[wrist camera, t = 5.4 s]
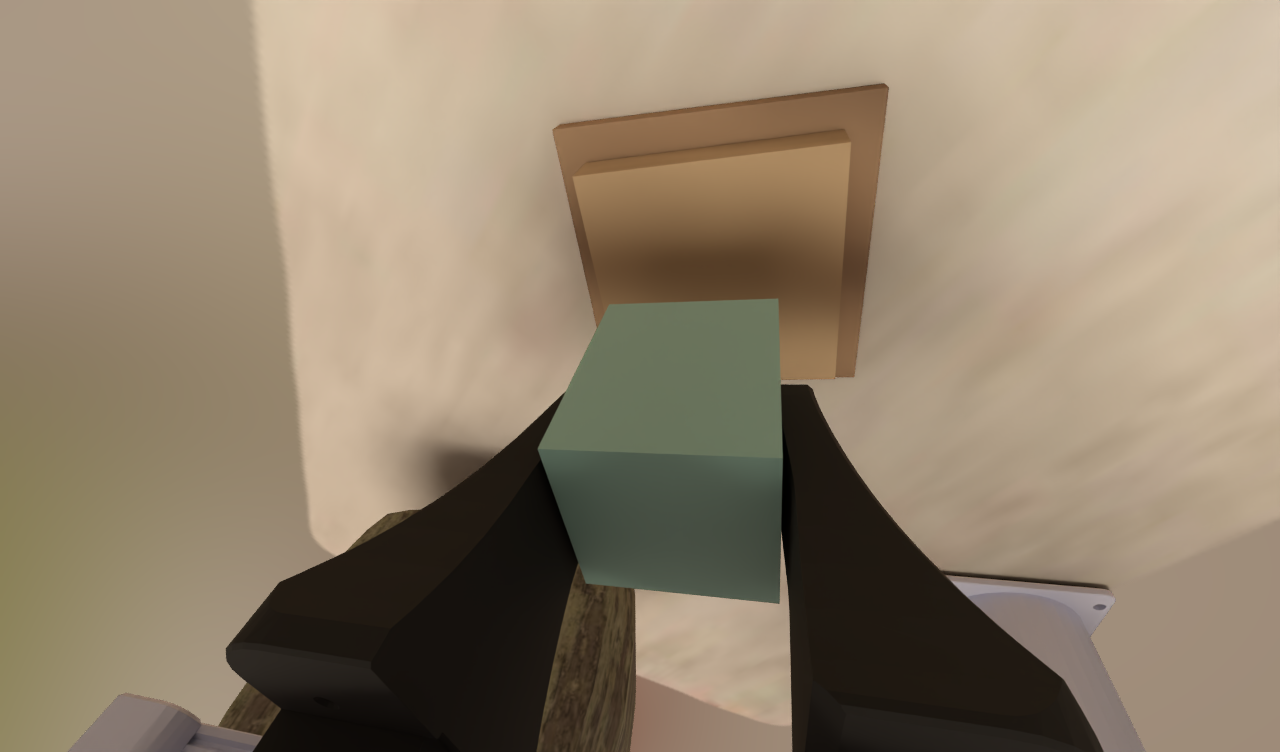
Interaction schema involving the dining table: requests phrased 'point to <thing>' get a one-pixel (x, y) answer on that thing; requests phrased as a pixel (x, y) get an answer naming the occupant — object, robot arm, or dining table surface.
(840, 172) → the top slab
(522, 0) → the dining table surface
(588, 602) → the tabletop clock
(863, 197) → the bottom slab
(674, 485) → the block
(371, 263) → the dining table surface
